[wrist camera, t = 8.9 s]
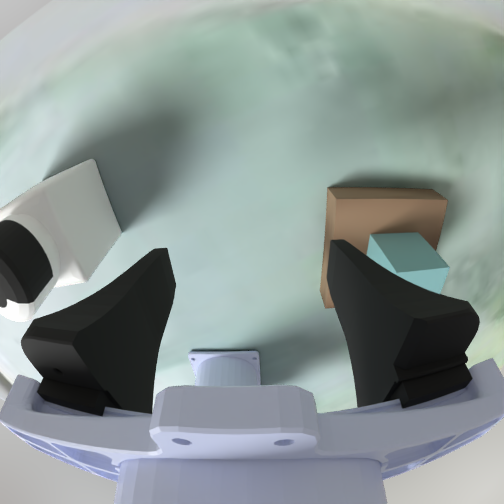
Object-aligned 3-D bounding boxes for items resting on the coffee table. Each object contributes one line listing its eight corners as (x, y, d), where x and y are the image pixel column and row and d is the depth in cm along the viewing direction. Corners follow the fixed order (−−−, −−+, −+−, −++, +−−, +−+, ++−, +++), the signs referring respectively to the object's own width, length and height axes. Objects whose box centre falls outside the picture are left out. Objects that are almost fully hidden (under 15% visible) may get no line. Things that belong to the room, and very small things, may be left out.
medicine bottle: (39, 182, 20) (-52, 250, 10) (95, 156, 19) (-10, 224, 9) (67, 248, 23) (0, 334, 13) (124, 233, 23) (56, 335, 12)
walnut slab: (408, 278, 26) (421, 296, 24) (318, 287, 26) (325, 308, 24) (429, 187, 21) (447, 200, 18) (325, 185, 21) (336, 199, 19)
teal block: (406, 277, 22) (430, 315, 18) (361, 281, 22) (381, 323, 18) (418, 232, 20) (449, 267, 16) (370, 234, 20) (396, 272, 16)
